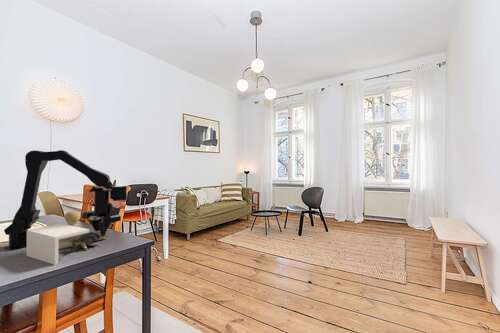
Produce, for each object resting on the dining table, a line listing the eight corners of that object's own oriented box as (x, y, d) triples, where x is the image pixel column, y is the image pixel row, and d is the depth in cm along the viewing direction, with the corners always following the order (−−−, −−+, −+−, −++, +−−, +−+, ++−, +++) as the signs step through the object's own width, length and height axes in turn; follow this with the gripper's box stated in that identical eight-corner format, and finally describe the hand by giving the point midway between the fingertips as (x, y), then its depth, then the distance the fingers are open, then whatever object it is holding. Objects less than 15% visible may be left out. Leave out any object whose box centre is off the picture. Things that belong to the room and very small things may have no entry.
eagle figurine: (81, 251, 93) (103, 241, 101) (72, 235, 94) (95, 226, 102) (73, 258, 96) (95, 247, 104) (64, 243, 97) (86, 233, 105)
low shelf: (26, 255, 91) (26, 230, 91) (60, 246, 101) (61, 223, 101) (54, 264, 83) (55, 237, 83) (88, 253, 94) (89, 229, 94)
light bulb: (71, 232, 120) (72, 212, 120) (61, 231, 121) (61, 211, 121) (83, 229, 126) (83, 210, 126) (72, 228, 128) (73, 209, 128)
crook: (38, 252, 94) (38, 243, 94) (105, 236, 113) (105, 229, 113) (46, 258, 88) (46, 249, 88) (115, 241, 107) (115, 233, 107)
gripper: (131, 200, 114) (130, 233, 114) (104, 197, 122) (104, 228, 122) (109, 204, 104) (108, 240, 104) (81, 200, 112) (80, 234, 112)
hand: (100, 235), depth 111 cm, fingers closed on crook, 3 cm apart
